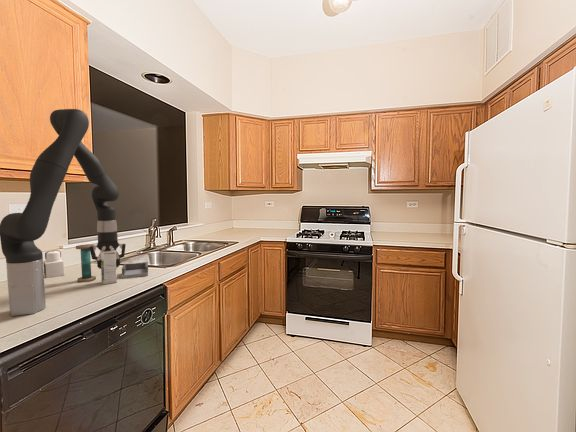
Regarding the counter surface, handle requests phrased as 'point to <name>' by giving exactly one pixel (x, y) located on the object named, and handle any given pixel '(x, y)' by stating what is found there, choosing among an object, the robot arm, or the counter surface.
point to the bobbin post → (85, 263)
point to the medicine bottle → (53, 264)
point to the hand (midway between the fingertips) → (109, 267)
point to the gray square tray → (135, 270)
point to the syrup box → (108, 267)
